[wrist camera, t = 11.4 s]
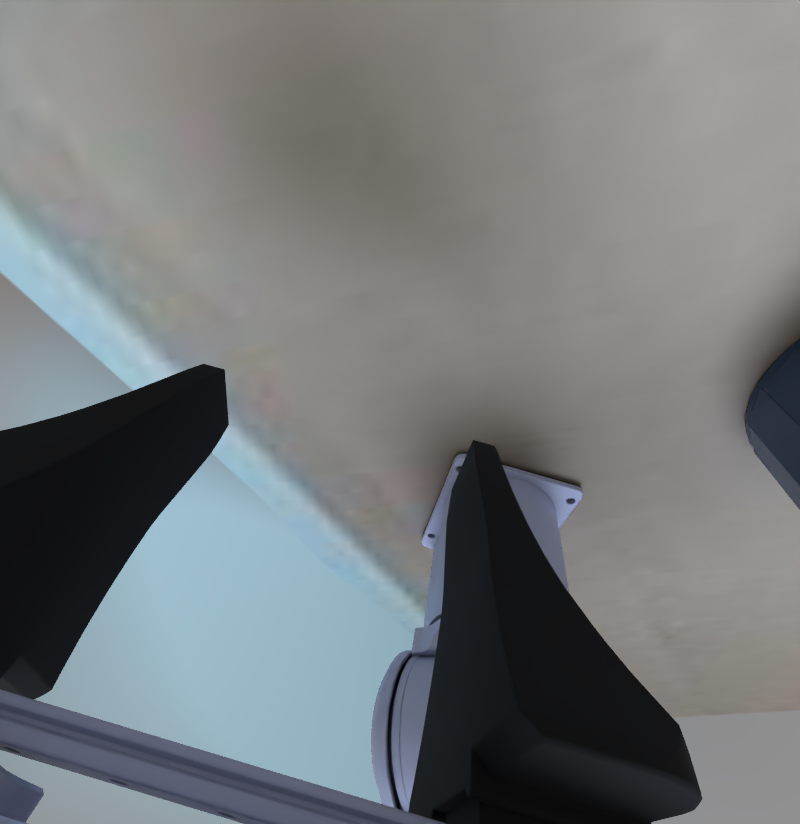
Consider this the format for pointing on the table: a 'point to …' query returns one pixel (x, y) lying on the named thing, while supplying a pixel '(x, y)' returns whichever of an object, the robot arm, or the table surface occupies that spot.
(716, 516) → the table surface
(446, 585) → the robot arm
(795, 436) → the tin
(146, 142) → the table surface
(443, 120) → the table surface
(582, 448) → the table surface
